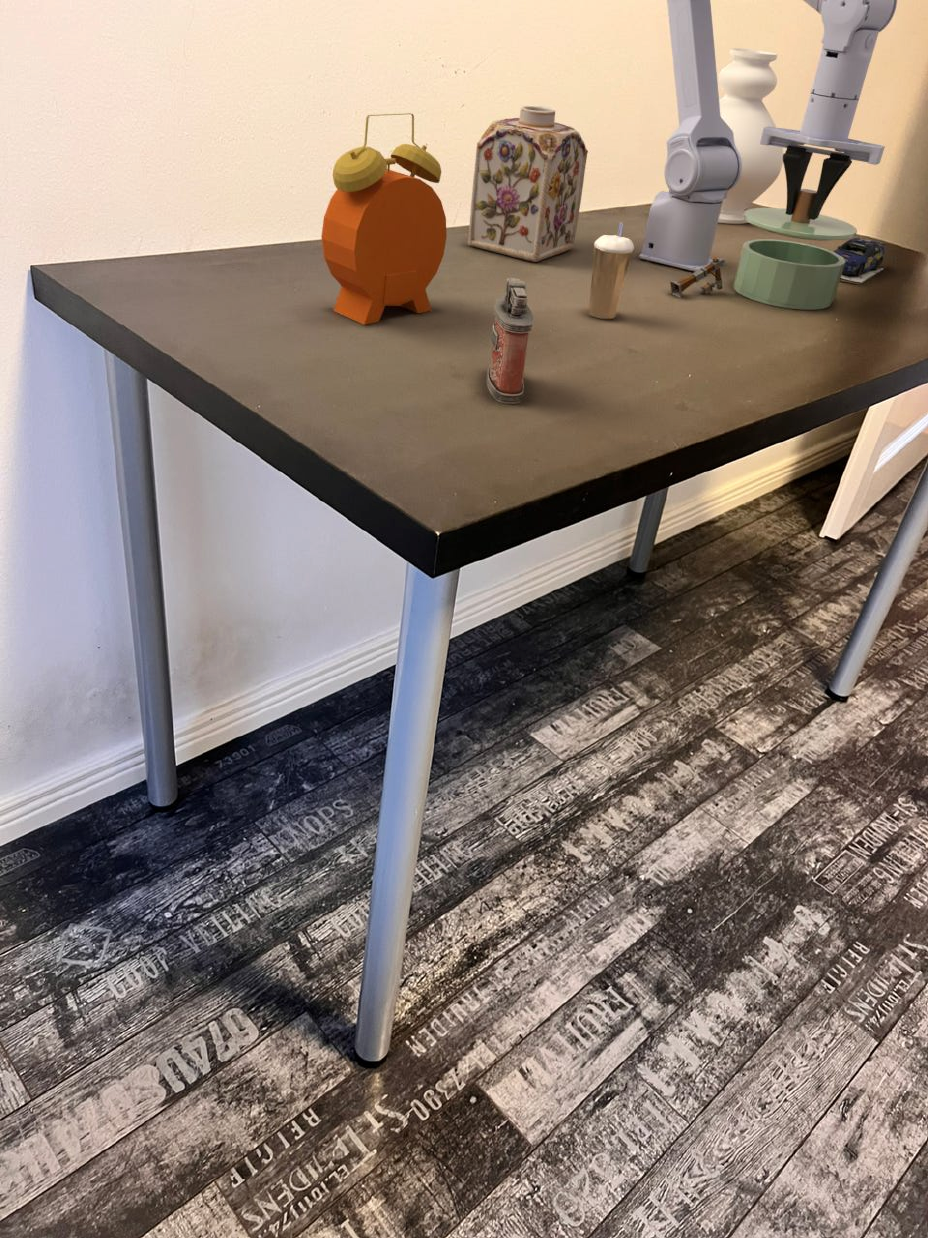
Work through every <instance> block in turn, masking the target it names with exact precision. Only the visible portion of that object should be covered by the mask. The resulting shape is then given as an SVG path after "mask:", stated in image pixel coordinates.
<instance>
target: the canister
mask: <svg viewBox="0 0 928 1238" xmlns="http://www.w3.org/2000/svg"><path fill="white" fill-rule="evenodd" d="M844 265H845V260H844V258H843V257H841V256H840V255H838V254H836V253H835V252H833V251H832V250H830V249H826V248H823V247H821V246H816V245H812V244H808V243H805V242H804V243H803V242H797V241H793V240H785V239H774V238H770V239H769V238H757V239H750V240H749V239H748V240H747V241H745V242H744V243H743V244H742V247H741V251H740V255H739V260H738V264H737V267H736V272H735V276H734V281H733V289H734V291H735V292H737V293H738V294H739V295H741V296H743V297H745V298H747V299H749V300H752V301H754V302H758V303H761V304H765V305H768V306H773V307H778V308H784V309H791V310H800V311H801V310H804V311H813V310H814V311H815V310H823V309H826V308H829V307H831V306H832V304H833V301H835V297H836V294H837V290H838V288H839V284H840V282H841V281H840V278H841V275H842V272H843V268H844Z"/></svg>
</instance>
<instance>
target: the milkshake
mask: <svg viewBox="0 0 928 1238" xmlns="http://www.w3.org/2000/svg"><path fill="white" fill-rule="evenodd" d="M624 225H625V222H619V226H618V230H617V234H613V235H610V234H609V235H608V234H603V235H601V236H599V237H598V238H597V239H596V240H595V241H594V243H593V257H592V271H591V280H590V281H591V282H590V291H589V292H590V293H589V300H588V301H589V302H588V314H589V315H590V316H591V317H593V318H595V319H599V320H613V319H615V317H616V316H617V312H618V307H619V304H620V299H621V297H622V292H623V288H624V285H625V280H626V276H627V273H628V270H629V266H630V264H631V260H632V256H633V252H634V249H635V245H634V242H633V241H632V240H631V239H630V238H628V237H625V236H622V234H623V230H624Z"/></svg>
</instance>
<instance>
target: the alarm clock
mask: <svg viewBox="0 0 928 1238" xmlns="http://www.w3.org/2000/svg"><path fill="white" fill-rule="evenodd" d="M400 115H401V116H402V115H411V142H412V144H409V143H401V144H399V145H398V146H396V147H395V148H394V150H393V151H392V152H391V154H390V157H388V158H387V157H386V158H385V157H384V155H382V153H381V152H380V151H378V150H377V149H375V148H373V147H371V146H367V144H368V133H369V132H368V131H369V119H370V117H376V116H377V117H379V116H400ZM364 132H365V133H364V144H363V146H358V147H355V148H352V149H349V150H347V151H346V152H345V153H343V154H342V155H340V156H339V157H338V159H337V160H336V162H335V164H334V166H333V169H332V180H333V184H334V186H335V188H336V190H335V192H334V193H333V195H332V196H331V198H330V200H329V202H328V205H327V207H326V211H325V212H324V215H323V220H322V221H323V222H322V228H321V229H322V231H321V236H320V237H321V247H322V252H323V253H322V254H323V259H324V261H325V263H326V266H327V267H328V270H329V273H330V274H331V276H332V277H333V278H334V279H335V280H336V281H337V283H338V284H339V285H340V286H341V287H340V290H339V293H338V296H337V299H336V302H335V305H334V307H333V312H334V313H338V314H339V315H341V316H344V317H346V318H347V319H350V320H352V321H355V322H356V323H359V324H361V325H364V326H365V325H370V324H375V323H379V321H380V319H381V317H382V314H383V312H384V310H385V308H386V306H387V307H388V306H392V307H393V306H394V307H397V306H399V307H402V308H404V309H406V310H409V311H411V312H414V313H417V314H421V313H425V312H431V311H432V308H431V304H430V301H429V296H428V293H427V288H428V286H429V285H430V284H431V282H432V281H433V279H434V278H435V277H436V275H437V273H438V270H439V268H440V266H441V263H442V260H443V258H444V253H445V248H446V244H447V239H448V238H447V235H448V234H447V216H446V214H445V210H444V206H443V202H442V200H441V198H440V196H439V195H438V194H437V193H436V191H435V189H434V188H433V187H432V186H431V185H429V184H428V183H426V182H425V181H427V182H430V183H433V184H439V183H440V181H441V176H442V168H441V164H440V163H439V161H438V160H437V159H436V158H435V157H434V156H433V154H431V153H429V152H428V151H427V148H428V147H427V146H426V145H425V144H423V145H422V146H421V147H420V146H419V145H418V144H417V143H415V115H414V114H413V113H411V112H410V113H409V112H408V113H385V114H384V113H383V114H368V115H367V116H366V120H365V130H364ZM396 164H397V165H398V166H400V167H401V168H402V169H404V170H406V171H407V172H409V173H410V174H409V175H408V174H406V173H402V172H398V171H396V170H393V169H391V168H390V167H391V166H392V165H396ZM422 179H423V180H425V181H423V180H422Z"/></svg>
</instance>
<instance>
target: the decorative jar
mask: <svg viewBox="0 0 928 1238" xmlns="http://www.w3.org/2000/svg"><path fill="white" fill-rule="evenodd" d="M555 118H556V110H555V109H554V108H552V107H549V106H540V105H539V106H538V105H524V106H521V107H520V113H519V117H512V118H502V119H495V120H493V121H492V122H491V123H490V124H489V126H488V127H487V129H486V130H485V131H484V133H483V134H482V136H481V137H480V139H479V141H478V142H477V143H476V150H475V162H474V171H473V180H472V181H473V182H472V189H471V202H470V214H469V225H468V228H469V229H468V240H467V244H468V246H469V247H473V248H477V249H481V250H484V251H488V252H489V251H490V252H492V253H497V254H501V255H505V256H507V257H511V258H515V259H520V260H523V261H527V262H532V263H538V262H541V261H544V260H546V259H549V258H551V257H554V256H558V255H559V254H563V253H565V252H568V251H570V250H572V249H573V248H574V245H575V241H576V234H577V228H578V223H579V222H578V221H579V215H580V209H581V208H580V207H581V202H582V195H583V187H584V180H585V173H586V165H587V158H588V153H589V150H588V149H587V146H586V144H585V141H584V140H583V138H582V137H581V134H580V132H579V131H578V130H576V129H575V128H574V127H572V126H569V125H565V124H563V123H559V122H557V121H556V119H555ZM555 121H556V122H555Z"/></svg>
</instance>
